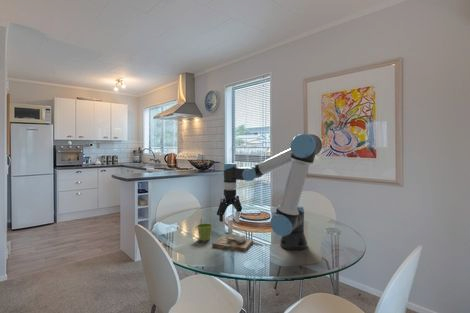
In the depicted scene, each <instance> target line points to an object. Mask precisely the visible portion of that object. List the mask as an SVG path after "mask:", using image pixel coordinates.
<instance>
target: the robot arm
mask: <svg viewBox="0 0 470 313" xmlns="http://www.w3.org/2000/svg"><path fill="white" fill-rule="evenodd" d="M289 147H290V148H288V149H287V150H284V151H282V152H280V153H278V154H276V155H274V156H272V157H269V158H268V159H266V160H262V161H261V162H259V163H257V164H255V165H251V166H244V167H243V166H241V167H239V166H237V163H234V162H226V163H224V165H223V196H224V198H220V201H219V202H220V203H219V206H218V208H217V212H216V215H217V216H218V217H219V227H220V228H225V216H224V215H225V213H226V211H227V209H228V207H229V206H231V205H232V206H233V207H234V209H235V212H234V214H235V216H234V219H235V221H234V222H235V223H240V216H241V212H242V210H243V207H242V204H241V202H240V201H241V200H240V196H239V195H237V180H238V181H245V182H249V181H250V182H252V181H254V180H255V179H259V178H262V177H263V176H264V175H266V174H269V173H271V172H273V171H275V170H278V169H280V168H282V167H284V166H288V165H290V164H291V165H290V169H289V173H288V176H287V180H286V184H285V188H284V191H283V195H282V198H281V202H280V204H279V205H277V207H276V210H275V212H274V215H273V216H272V217H271V218H270V222H269V225H270V229H271V230H272V231H273V233H274V234H276V236H278V237H279V236H280V240H279V246H280V247H281V248H283V249H285V250H289V251H302V250H305V249H307V247H308V242H307V239H306V238H307V237H306V235H305V208H304V207H303V206H300V205H299V203H300V200H301V199H300V198H301V197H302V196H301V195H302V192H303V189H304V185H305V181H306V178H307V174H308V172H309V171H308V170H309V167H310V165H312V164H314V161H315V158H316V157H315V156H317V155H319V154H320V152H321V151H322V149H323V142H322V140H321V138H320V137H319V136H318V135H315V134H312V133H311V134H310V133H300V134H297V135H296V136H294V137H293V138H292V140H291V142H290V146H289Z"/></svg>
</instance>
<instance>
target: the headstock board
mask: <svg viewBox="0 0 470 313" xmlns="http://www.w3.org/2000/svg"><path fill="white" fill-rule="evenodd" d="M245 240H246V241H245V242H243V243H239V242H236V238H234V237H230V236H225V235H222V236H220V237H219V238H217V239H216V240H215V241H214V242H212V243H211V247H212V248H215V249H224V250H232V251H238V252H246V251H247V250H248V249H249V248H250V247H251V246H252V245H253V244H254V239H252V238H251V239H249V238H245Z"/></svg>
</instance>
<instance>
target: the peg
mask: <svg viewBox="0 0 470 313" xmlns="http://www.w3.org/2000/svg"><path fill="white" fill-rule="evenodd" d="M233 224H234V223H233V219H232V218H230V219H227V232H225V235H228V237H234V238H236V242H239V243H243V242H245V241H246V240H245V239H246V234H245V233H235V232H234V230H233V226H234V225H233Z"/></svg>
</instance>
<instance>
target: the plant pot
mask: <svg viewBox="0 0 470 313" xmlns="http://www.w3.org/2000/svg"><path fill="white" fill-rule="evenodd" d="M212 227H213V225H212V224H211V223H199V224H197V225H196V228H197V230H198V235H199V241H203V242H207V241H209V240H210V238H211V232H212V231H211V230H212Z"/></svg>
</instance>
